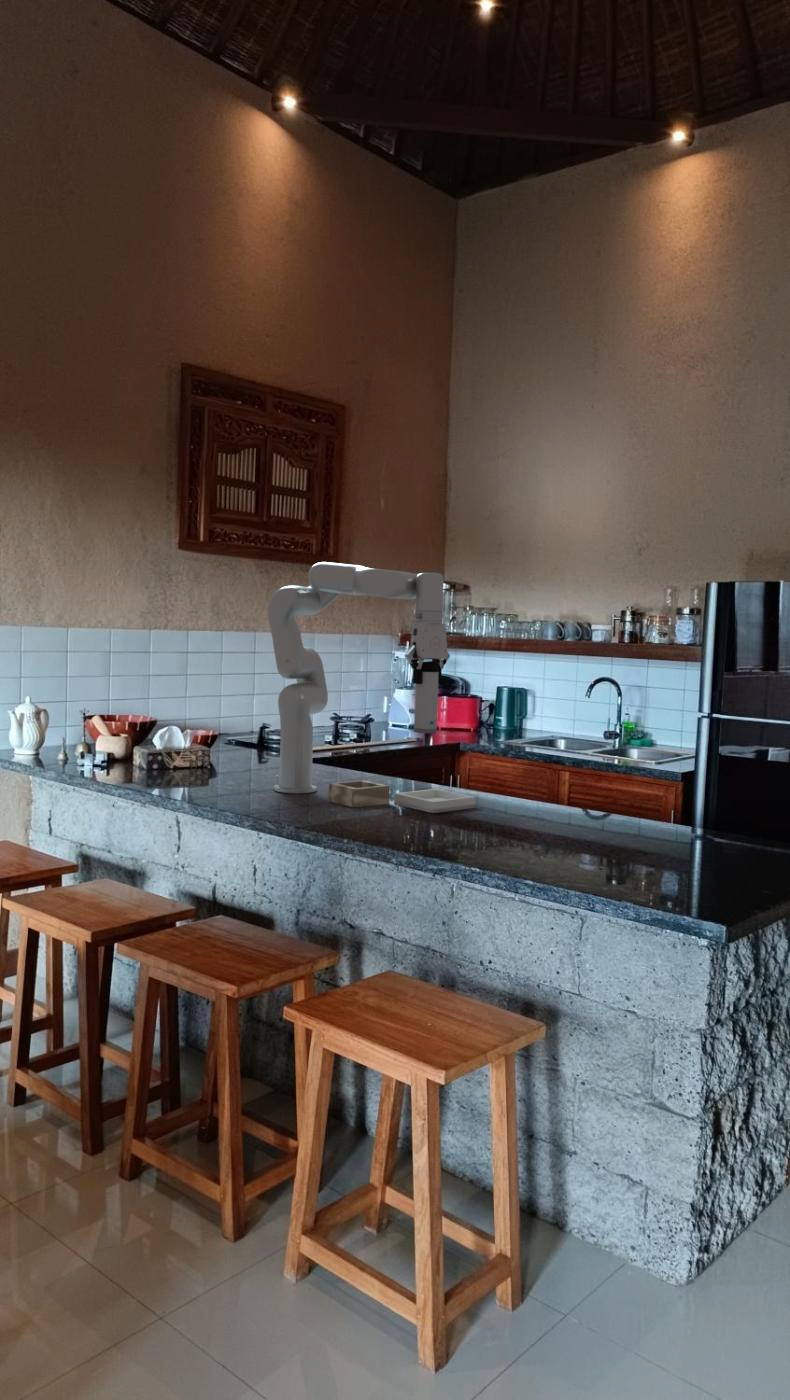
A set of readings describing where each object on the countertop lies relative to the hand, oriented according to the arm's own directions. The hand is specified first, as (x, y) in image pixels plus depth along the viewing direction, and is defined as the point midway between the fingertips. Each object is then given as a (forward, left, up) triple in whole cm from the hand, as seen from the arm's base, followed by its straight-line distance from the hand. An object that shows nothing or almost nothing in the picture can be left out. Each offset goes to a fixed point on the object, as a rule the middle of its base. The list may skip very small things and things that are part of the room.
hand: (427, 682), depth 280 cm
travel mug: (0, 0, -14) cm, 14 cm away
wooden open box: (-13, -13, -34) cm, 39 cm away
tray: (+2, +2, -34) cm, 34 cm away
